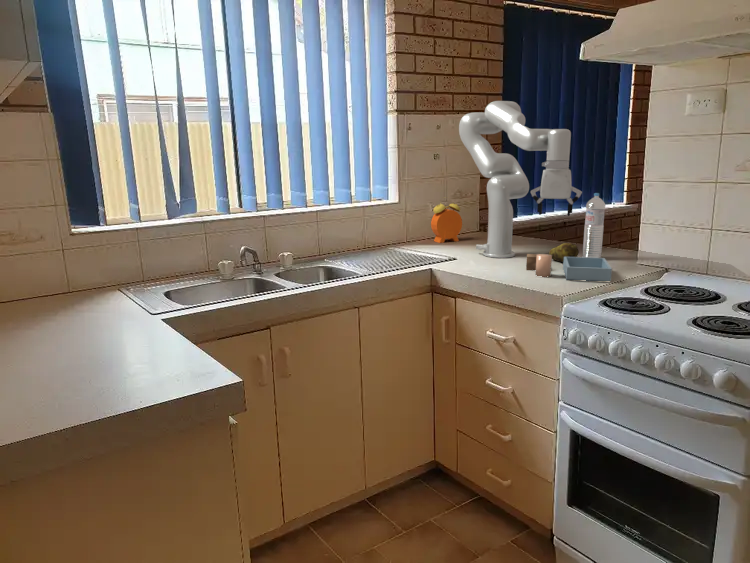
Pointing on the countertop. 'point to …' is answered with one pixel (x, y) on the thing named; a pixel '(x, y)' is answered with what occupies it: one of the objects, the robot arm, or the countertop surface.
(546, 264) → the cylinder
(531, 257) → the cube
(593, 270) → the tote
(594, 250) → the water bottle
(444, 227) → the alarm clock
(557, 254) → the potato
